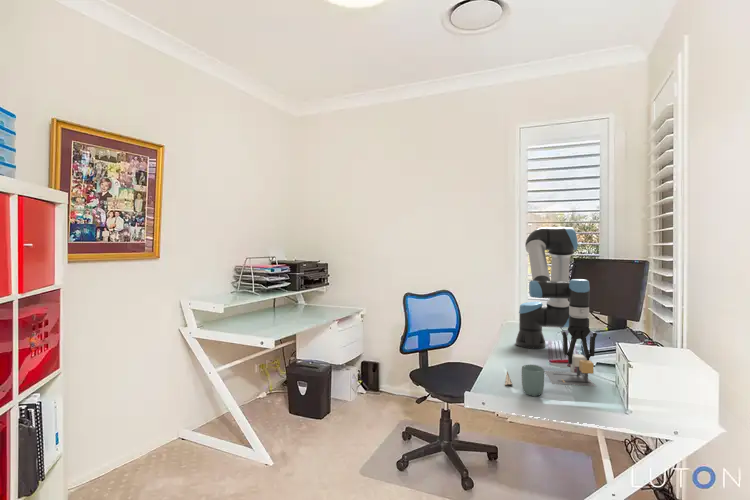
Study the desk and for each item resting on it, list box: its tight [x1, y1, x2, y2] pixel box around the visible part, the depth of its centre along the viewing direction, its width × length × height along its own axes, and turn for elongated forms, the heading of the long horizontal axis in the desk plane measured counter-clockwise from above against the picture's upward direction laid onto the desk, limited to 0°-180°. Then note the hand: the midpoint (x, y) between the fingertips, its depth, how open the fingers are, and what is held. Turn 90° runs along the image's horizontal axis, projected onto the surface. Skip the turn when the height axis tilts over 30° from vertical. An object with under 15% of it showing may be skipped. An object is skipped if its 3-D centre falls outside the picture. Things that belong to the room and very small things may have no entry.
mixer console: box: [544, 370, 597, 387], centre depth 165 cm, size 16×16×1 cm
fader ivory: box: [573, 353, 585, 375], centre depth 168 cm, size 4×4×8 cm
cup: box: [521, 364, 545, 397], centre depth 152 cm, size 8×8×10 cm
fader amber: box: [579, 359, 595, 382], centre depth 160 cm, size 4×4×8 cm
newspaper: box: [504, 371, 513, 386], centre depth 170 cm, size 24×7×2 cm, turn 160°
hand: (578, 372), depth 168 cm, fingers closed on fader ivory, 4 cm apart
